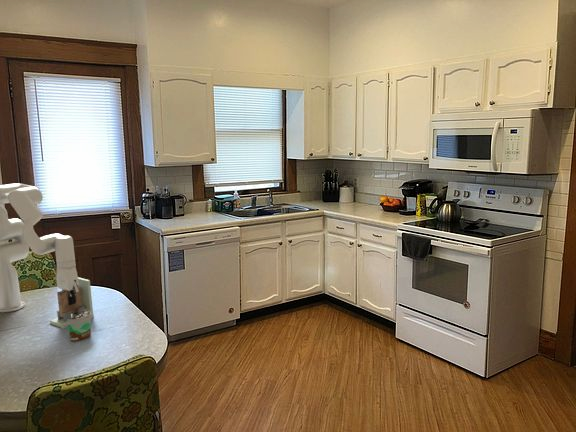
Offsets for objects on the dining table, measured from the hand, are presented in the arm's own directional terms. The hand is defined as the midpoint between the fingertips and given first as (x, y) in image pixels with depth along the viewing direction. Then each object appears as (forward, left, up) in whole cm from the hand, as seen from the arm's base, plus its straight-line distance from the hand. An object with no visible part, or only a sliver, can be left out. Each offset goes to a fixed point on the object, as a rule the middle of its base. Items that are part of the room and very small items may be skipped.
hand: (70, 303), depth 222 cm
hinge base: (0, 0, -8) cm, 8 cm away
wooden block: (0, 0, -5) cm, 5 cm away
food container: (+21, -8, -8) cm, 24 cm away
